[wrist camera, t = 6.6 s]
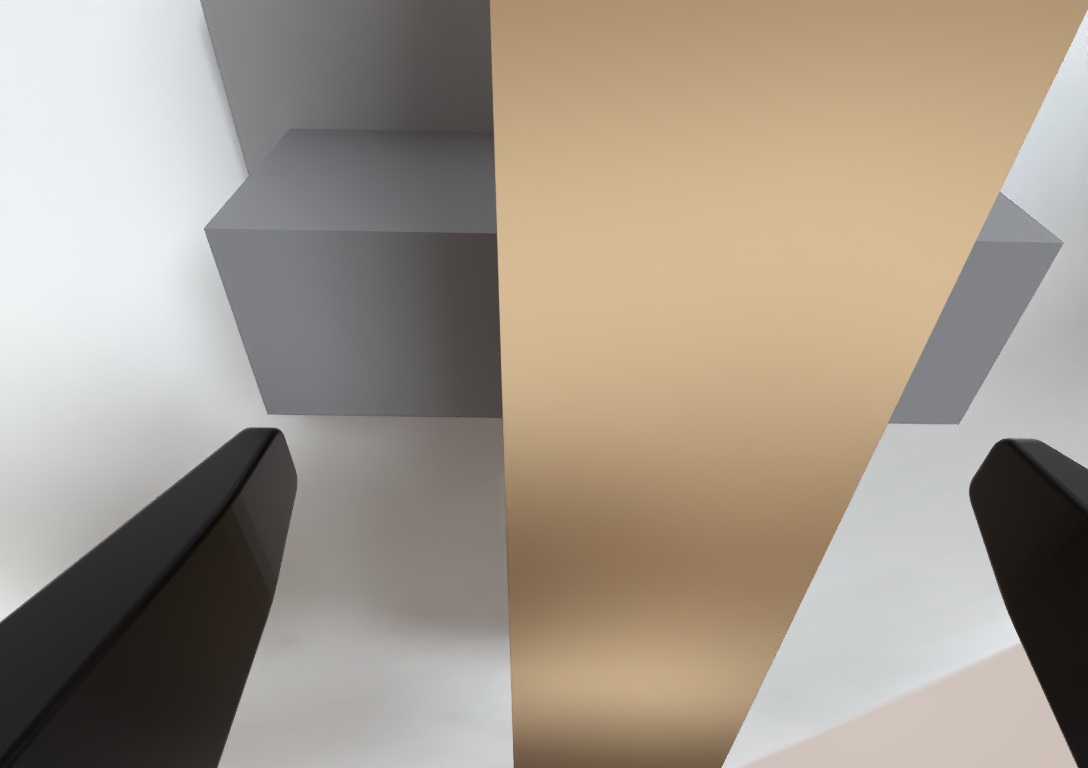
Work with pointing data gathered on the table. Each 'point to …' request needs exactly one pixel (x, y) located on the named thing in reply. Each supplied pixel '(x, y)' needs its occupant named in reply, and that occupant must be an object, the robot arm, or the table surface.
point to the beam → (718, 321)
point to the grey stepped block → (443, 219)
